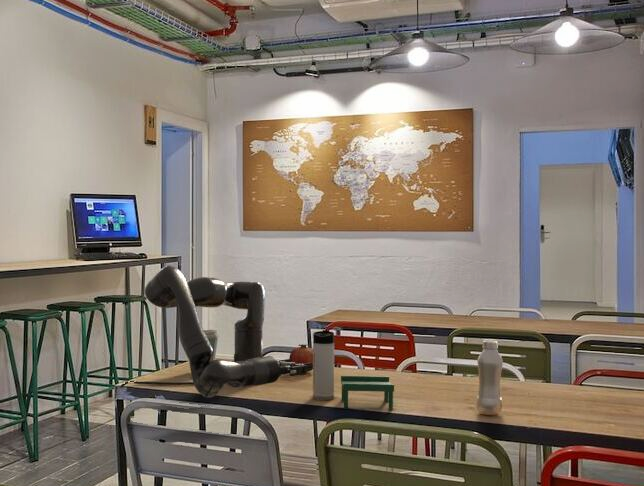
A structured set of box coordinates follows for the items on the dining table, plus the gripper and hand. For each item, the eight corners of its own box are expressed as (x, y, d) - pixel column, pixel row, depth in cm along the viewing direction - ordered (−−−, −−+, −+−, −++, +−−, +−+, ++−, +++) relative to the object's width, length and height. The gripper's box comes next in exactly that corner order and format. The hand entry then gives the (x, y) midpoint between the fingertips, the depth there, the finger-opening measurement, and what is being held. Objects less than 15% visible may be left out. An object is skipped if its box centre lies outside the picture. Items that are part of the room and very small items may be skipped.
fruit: (306, 369, 269) (306, 341, 269) (323, 373, 260) (323, 345, 260) (282, 371, 264) (282, 343, 263) (298, 376, 255) (298, 347, 255)
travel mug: (336, 396, 224) (336, 330, 223) (331, 401, 218) (331, 333, 217) (315, 394, 226) (315, 329, 225) (310, 399, 220) (310, 332, 219)
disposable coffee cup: (187, 375, 258) (187, 332, 257) (190, 369, 269) (190, 328, 268) (217, 375, 258) (217, 332, 257) (219, 369, 268) (219, 328, 268)
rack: (343, 409, 207) (343, 383, 207) (340, 399, 219) (340, 375, 219) (394, 410, 206) (394, 384, 206) (388, 400, 218) (388, 376, 218)
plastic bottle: (472, 412, 204) (473, 339, 203) (495, 411, 204) (496, 339, 204) (481, 417, 197) (482, 343, 197) (506, 417, 198) (507, 342, 197)
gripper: (242, 380, 210) (283, 373, 221) (277, 388, 199) (318, 381, 210) (242, 354, 210) (283, 348, 220) (277, 361, 199) (318, 354, 209)
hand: (300, 364), depth 215 cm, fingers open, 8 cm apart
